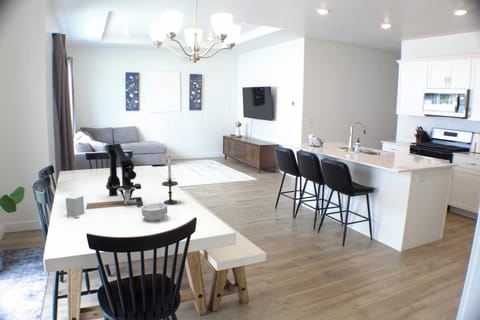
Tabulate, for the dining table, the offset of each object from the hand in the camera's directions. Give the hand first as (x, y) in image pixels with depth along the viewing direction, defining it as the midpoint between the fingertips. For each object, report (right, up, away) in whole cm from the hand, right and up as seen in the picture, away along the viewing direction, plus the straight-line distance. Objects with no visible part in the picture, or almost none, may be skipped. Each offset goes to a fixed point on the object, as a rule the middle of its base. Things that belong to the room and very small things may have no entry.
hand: (127, 199), depth 249 cm
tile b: (+4, -4, -2) cm, 6 cm away
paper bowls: (+26, -9, -27) cm, 38 cm away
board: (-13, -5, -4) cm, 14 cm away
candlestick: (+29, -4, +6) cm, 30 cm away
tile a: (+2, -3, +4) cm, 5 cm away
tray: (+4, -4, +2) cm, 6 cm away
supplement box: (-24, -8, -24) cm, 35 cm away
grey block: (-1, -2, 0) cm, 3 cm away
